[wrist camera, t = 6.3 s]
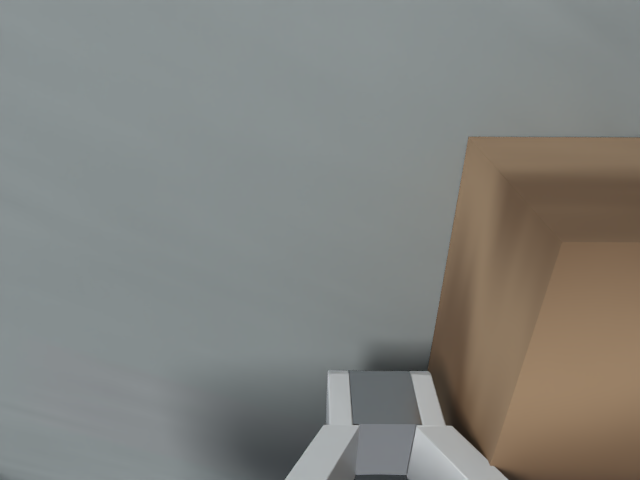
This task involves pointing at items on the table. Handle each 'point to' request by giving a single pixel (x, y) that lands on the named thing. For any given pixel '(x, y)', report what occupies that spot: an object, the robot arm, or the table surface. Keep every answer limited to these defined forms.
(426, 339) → the table surface
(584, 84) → the table surface
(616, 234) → the t block
